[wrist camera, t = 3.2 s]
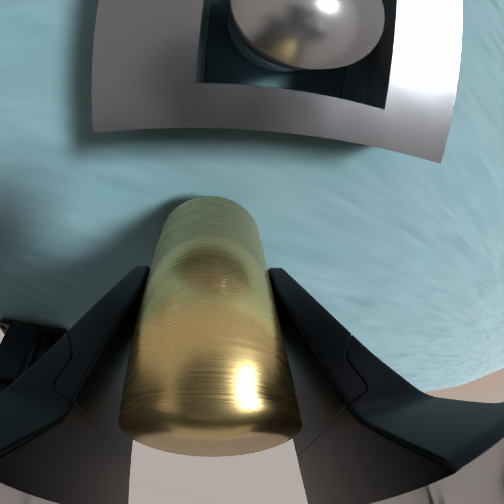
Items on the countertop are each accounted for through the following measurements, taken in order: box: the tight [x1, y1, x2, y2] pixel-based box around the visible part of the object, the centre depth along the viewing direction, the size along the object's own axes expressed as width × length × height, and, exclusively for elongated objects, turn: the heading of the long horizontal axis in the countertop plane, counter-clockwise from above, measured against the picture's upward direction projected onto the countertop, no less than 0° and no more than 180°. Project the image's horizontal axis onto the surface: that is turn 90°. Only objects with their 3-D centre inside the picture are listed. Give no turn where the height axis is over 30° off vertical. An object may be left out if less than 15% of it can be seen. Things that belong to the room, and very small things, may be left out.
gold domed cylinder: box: [118, 196, 302, 457], centre depth 7 cm, size 4×4×7 cm
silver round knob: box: [228, 0, 385, 71], centre depth 5 cm, size 4×4×4 cm
